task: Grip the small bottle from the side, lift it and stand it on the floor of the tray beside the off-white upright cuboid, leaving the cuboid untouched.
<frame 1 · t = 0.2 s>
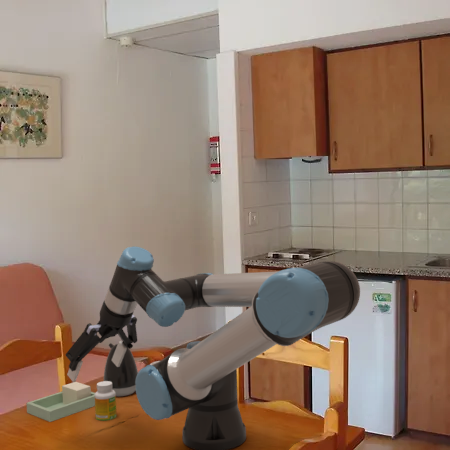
hand: (94, 370, 159), 15 cm above the table, tool tilted 35°, fingers open, 13 cm apart
supplement bottle: (106, 420, 165), on the table
pump dispenser: (121, 395, 184), on the table
white cup: (164, 399, 180), on the table
tray: (64, 411, 173), on the table
off-white upright cuboid: (77, 403, 176), point 1 cm above the table, touching tray
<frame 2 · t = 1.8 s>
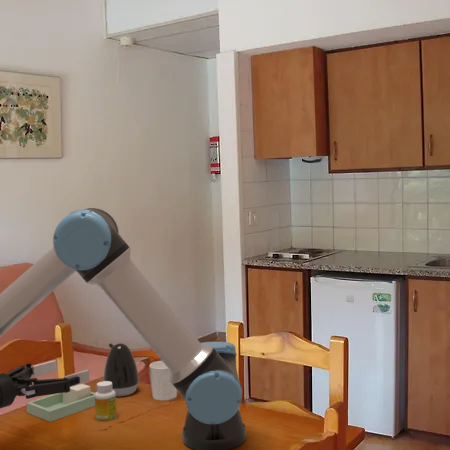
hand: (71, 370, 157), 16 cm above the table, tool horizontal, fingers open, 13 cm apart
nothing on the table moved.
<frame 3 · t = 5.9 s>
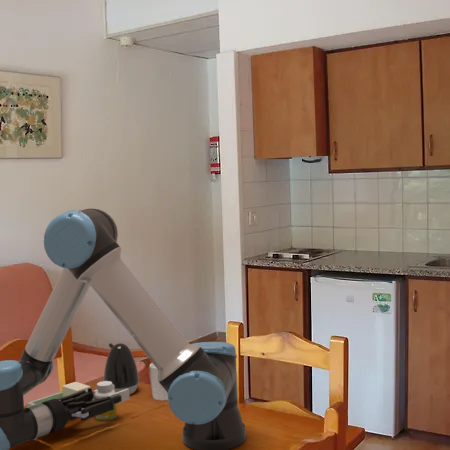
hand: (120, 391, 169), 6 cm above the table, tool horizontal, fingers closed on supplement bottle, 5 cm apart
supplement bottle: (106, 420, 165), on the table, touching gripper
everything else where it was.
when the fingers open (9 cm above the table, at t = 10.5 s): supplement bottle drops 2 cm, resting on tray.
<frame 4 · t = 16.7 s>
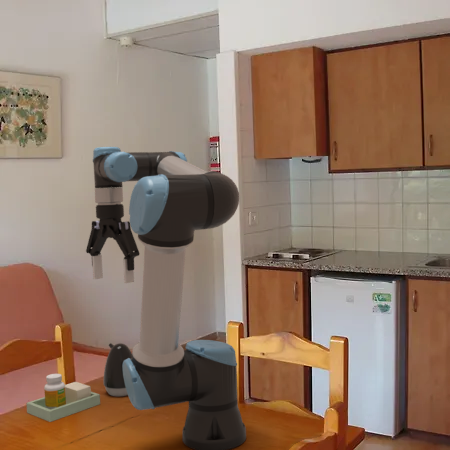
hand: (113, 280, 175), 35 cm above the table, tool pointing down, fingers open, 13 cm apart
supplement bottle: (56, 411, 171), point 1 cm above the table, touching tray
everything else where it was.
at the end: supplement bottle inside the target area on the tray (0.4 cm from its centre), point 0.6 cm above the tray's base; supplement bottle tilted 0°; off-white upright cuboid moved 0.0 cm from its start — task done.
